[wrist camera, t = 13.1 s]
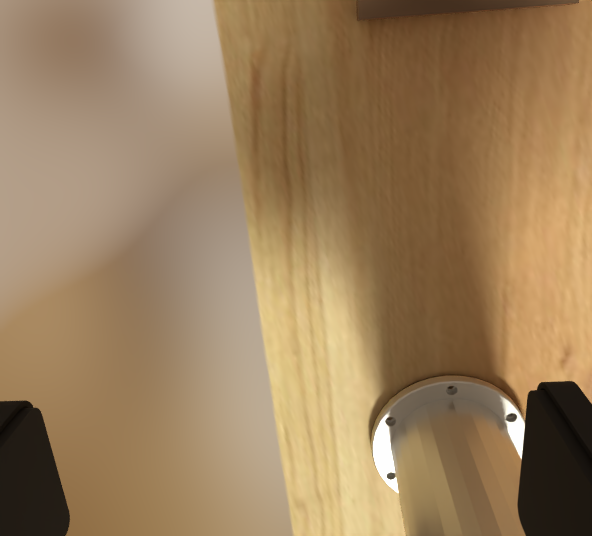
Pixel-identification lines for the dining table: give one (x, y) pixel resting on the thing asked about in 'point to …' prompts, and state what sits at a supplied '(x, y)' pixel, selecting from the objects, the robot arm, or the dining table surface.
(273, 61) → the dining table surface
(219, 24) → the dining table surface
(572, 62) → the dining table surface
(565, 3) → the shaft block
